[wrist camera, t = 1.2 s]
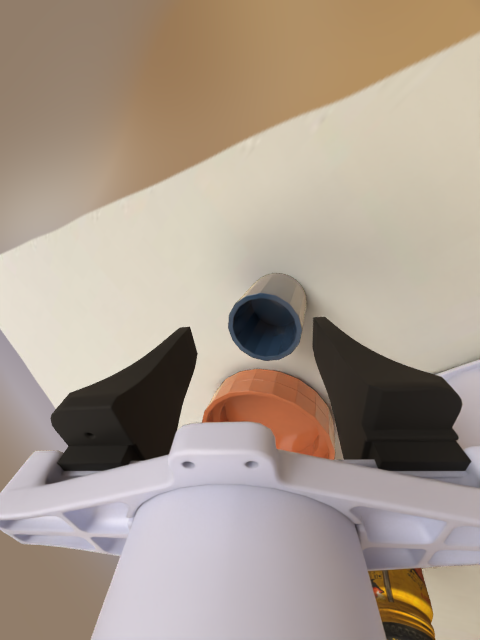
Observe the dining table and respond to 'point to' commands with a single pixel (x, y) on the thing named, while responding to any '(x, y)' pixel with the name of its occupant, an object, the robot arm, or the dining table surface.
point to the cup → (269, 317)
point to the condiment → (403, 604)
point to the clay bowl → (276, 410)
